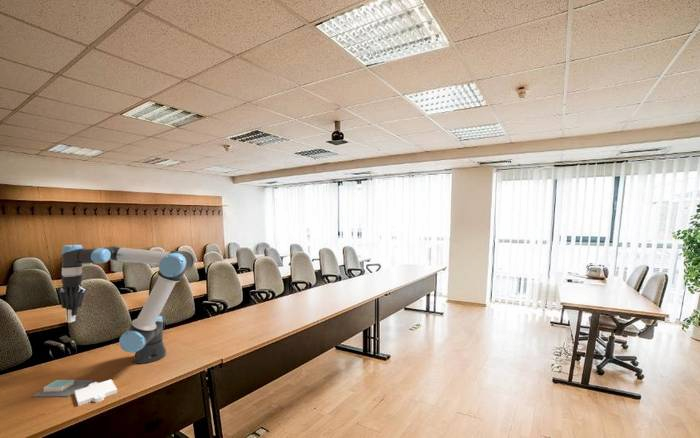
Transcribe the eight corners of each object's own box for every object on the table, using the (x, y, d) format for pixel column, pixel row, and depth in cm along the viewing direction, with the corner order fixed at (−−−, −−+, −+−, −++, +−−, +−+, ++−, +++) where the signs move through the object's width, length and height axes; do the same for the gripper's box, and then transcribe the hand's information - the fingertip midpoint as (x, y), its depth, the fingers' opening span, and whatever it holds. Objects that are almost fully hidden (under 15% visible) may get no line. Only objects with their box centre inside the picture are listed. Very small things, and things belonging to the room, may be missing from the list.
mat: (93, 380, 142) (93, 379, 142) (68, 396, 129) (68, 395, 129) (60, 380, 142) (60, 380, 142) (31, 396, 129) (31, 396, 129)
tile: (73, 379, 139) (56, 379, 139) (61, 386, 133) (43, 386, 133) (73, 384, 139) (56, 384, 139) (61, 391, 133) (43, 391, 133)
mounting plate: (118, 395, 131) (118, 391, 131) (79, 409, 121) (79, 404, 121) (110, 381, 143) (110, 377, 143) (73, 392, 133) (73, 388, 133)
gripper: (91, 273, 153) (91, 319, 153) (66, 274, 153) (65, 319, 153) (78, 276, 145) (77, 324, 145) (51, 276, 145) (51, 324, 145)
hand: (71, 321), depth 149 cm, fingers closed
